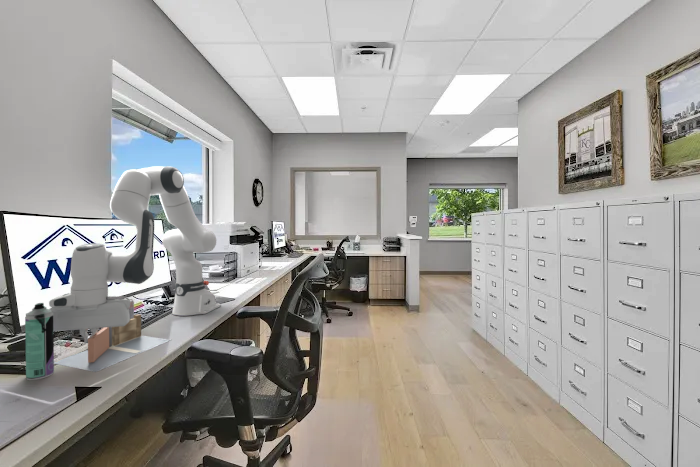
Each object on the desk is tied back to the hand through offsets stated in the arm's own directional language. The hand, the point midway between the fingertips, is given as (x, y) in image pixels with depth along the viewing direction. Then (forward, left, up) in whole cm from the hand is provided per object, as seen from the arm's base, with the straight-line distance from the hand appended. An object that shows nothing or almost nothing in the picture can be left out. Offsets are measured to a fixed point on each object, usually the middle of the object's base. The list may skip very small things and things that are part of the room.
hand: (89, 342), depth 98 cm
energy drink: (-23, -14, -6) cm, 27 cm away
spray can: (+11, -2, -6) cm, 13 cm away
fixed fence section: (-15, -4, -5) cm, 16 cm away
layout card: (-8, +1, -5) cm, 9 cm away
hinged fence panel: (-4, 0, -5) cm, 6 cm away
